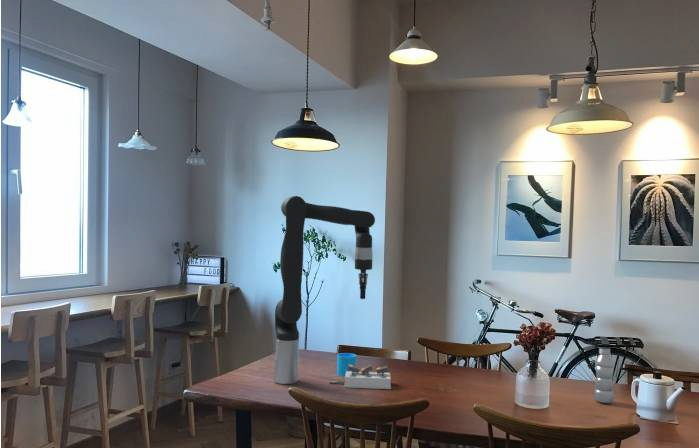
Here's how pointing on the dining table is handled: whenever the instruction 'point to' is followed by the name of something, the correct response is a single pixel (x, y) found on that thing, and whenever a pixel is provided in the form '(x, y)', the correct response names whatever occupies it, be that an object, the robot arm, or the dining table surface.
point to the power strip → (366, 380)
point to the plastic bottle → (604, 377)
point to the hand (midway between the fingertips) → (362, 298)
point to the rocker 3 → (382, 369)
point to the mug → (345, 362)
